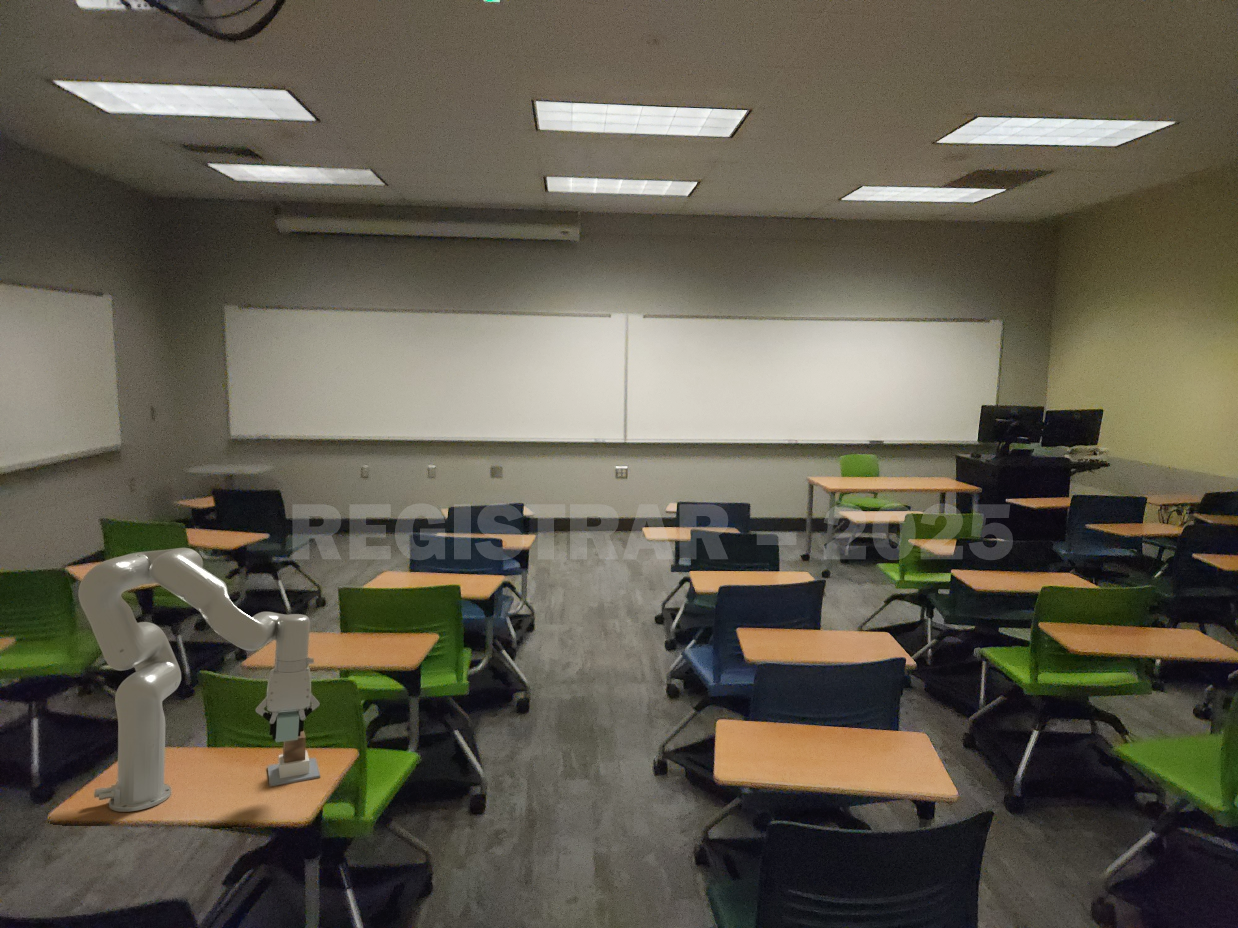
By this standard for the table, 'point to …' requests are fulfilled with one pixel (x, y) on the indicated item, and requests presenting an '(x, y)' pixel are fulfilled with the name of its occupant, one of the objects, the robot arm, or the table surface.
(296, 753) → the walnut block
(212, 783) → the table surface
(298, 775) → the plinth
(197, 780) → the table surface
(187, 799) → the table surface
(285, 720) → the teal block
